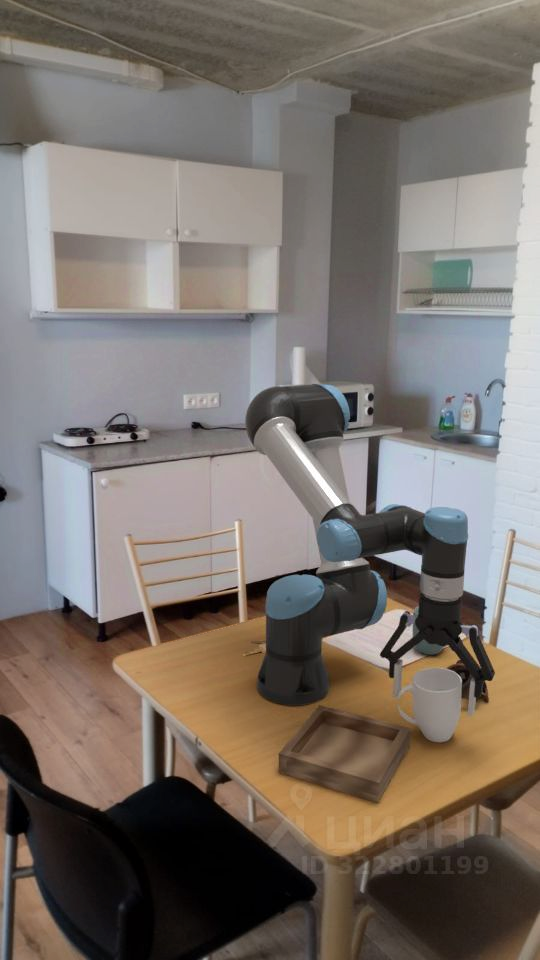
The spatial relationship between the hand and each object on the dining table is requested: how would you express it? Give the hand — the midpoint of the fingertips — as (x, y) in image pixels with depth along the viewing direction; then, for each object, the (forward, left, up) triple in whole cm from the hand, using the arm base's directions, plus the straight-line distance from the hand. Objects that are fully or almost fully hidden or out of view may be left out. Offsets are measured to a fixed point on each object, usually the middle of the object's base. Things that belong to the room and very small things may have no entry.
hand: (433, 703), depth 140 cm
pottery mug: (+2, +19, -8) cm, 20 cm away
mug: (0, +1, -7) cm, 7 cm away
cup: (-10, +36, -7) cm, 38 cm away
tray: (-12, -13, -7) cm, 19 cm away
